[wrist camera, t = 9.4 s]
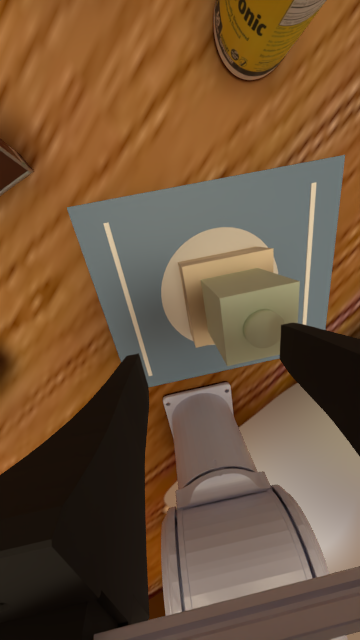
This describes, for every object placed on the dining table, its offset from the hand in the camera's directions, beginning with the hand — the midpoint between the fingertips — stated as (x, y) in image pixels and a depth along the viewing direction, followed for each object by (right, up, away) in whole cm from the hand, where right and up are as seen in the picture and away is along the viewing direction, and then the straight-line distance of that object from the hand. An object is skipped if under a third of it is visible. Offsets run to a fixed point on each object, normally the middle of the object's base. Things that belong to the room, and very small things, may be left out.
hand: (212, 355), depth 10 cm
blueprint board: (+2, +5, +10) cm, 11 cm away
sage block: (+2, +3, +6) cm, 8 cm away
